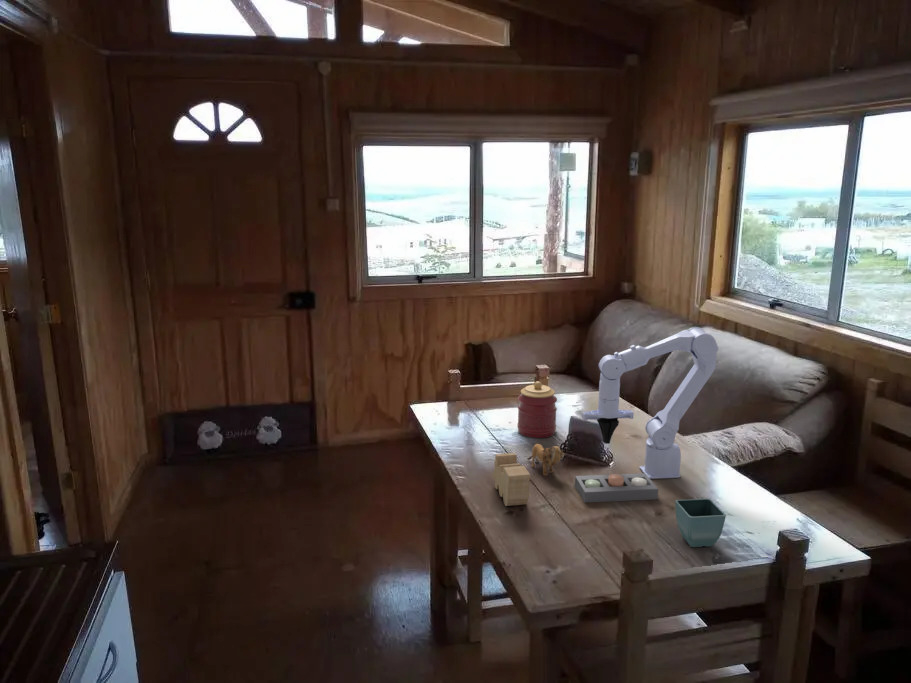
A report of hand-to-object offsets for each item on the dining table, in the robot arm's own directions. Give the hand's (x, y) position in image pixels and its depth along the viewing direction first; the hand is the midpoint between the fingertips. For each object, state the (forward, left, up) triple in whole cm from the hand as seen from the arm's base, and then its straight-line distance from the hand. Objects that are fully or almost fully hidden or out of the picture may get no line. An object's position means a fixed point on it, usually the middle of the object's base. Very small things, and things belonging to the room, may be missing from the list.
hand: (606, 442), depth 198 cm
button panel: (+1, +13, -9) cm, 16 cm away
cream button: (-5, +13, -9) cm, 17 cm away
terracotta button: (+1, +13, -8) cm, 15 cm away
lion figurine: (+17, -4, -10) cm, 20 cm away
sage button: (+8, +13, -9) cm, 18 cm away
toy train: (+30, +13, -10) cm, 34 cm away
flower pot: (-10, +40, -10) cm, 42 cm away
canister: (+13, -34, -10) cm, 38 cm away
